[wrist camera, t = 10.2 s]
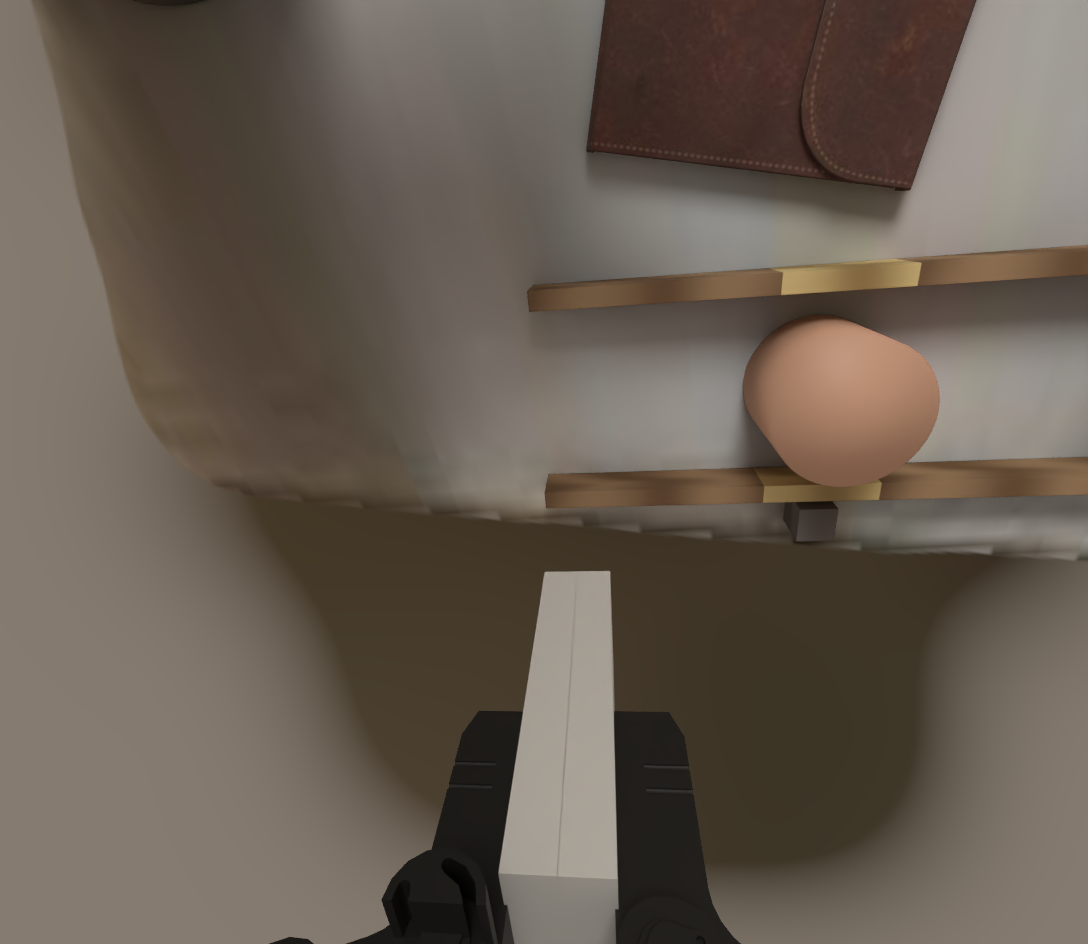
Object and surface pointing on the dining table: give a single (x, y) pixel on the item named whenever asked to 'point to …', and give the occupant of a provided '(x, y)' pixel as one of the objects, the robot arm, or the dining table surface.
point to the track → (803, 499)
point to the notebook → (777, 84)
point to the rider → (840, 399)
